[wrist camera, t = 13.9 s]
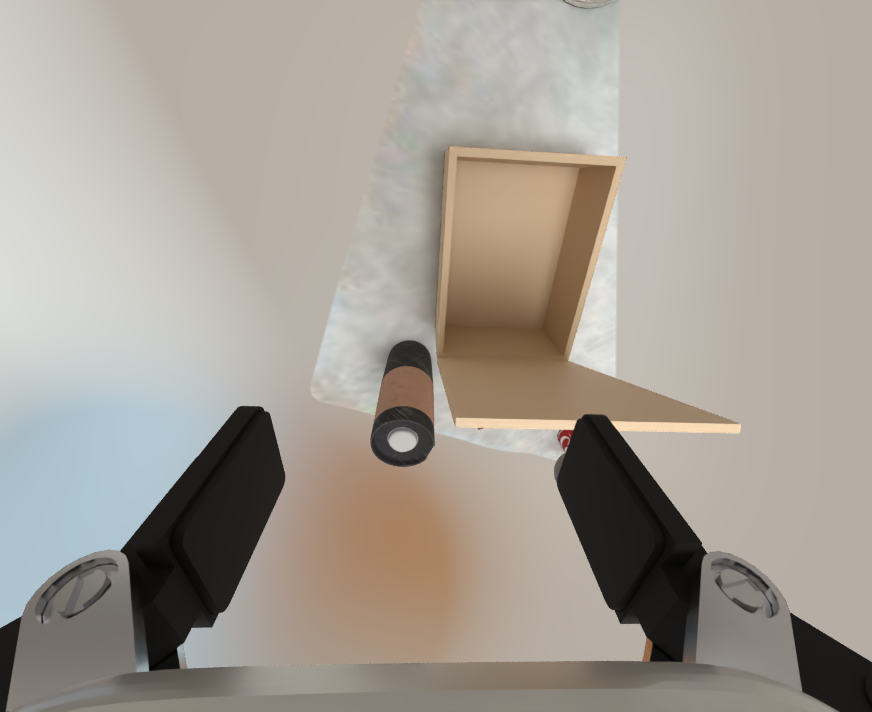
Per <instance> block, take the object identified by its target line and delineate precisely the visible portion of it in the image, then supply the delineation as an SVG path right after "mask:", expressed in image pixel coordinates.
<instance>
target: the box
mask: <svg viewBox="0 0 872 712" xmlns="http://www.w3.org/2000/svg"><path fill="white" fill-rule="evenodd" d="M626 159H627V158H626V157H613V156H598V155H582V154H566V153H550V152H534V151H518V150H502V149H487V148H471V147H455V146H449V148H448V149H447V150H446V151H445V156H444V174H443V193H442V211H441V230H440V248H439V266H438V285H437V303H436V322H435V333H436V350H437V357H447V358H479V359H511V360H543V361H568V359H569V356H570V353H571V349H572V346H573V342H574V339H575V335H576V332H577V328H578V325H579V321H580V318H581V314H582V311H583V307H584V304H585V301H586V297H587V294H588V290H589V287H590V283H591V280H592V276H593V273H594V269H595V266H596V262H597V259H598V256H599V252H600V249H601V245H602V242H603V238H604V235H605V231H606V228H607V224H608V221H609V217H610V214H611V210H612V207H613V204H614V200H615V197H616V193H617V190H618V186H619V183H620V179H621V176H622V172H623V169H624V165H625V162H626Z"/></svg>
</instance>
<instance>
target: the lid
mask: <svg viewBox="0 0 872 712" xmlns="http://www.w3.org/2000/svg"><path fill="white" fill-rule="evenodd" d="M437 363H438V367H439V371H440V374H441V378H442V381H443V385H444V389H445V392H446V396H447V399H448V403H449V406H450V410H451V414H452V417H453V421H454V424H455V427H463V428H511V429H559V430H574V427H575V424H576V421H577V420H578V419H581V418H582V416H583V415H584V414H603V415H606V416H607V417H608V418H609V420H610V421H611V422H612V424H613V425H614V426H615V428H616V429H617V430H618V431H655V432H657V431H658V432H704V433H706V432H707V433H708V432H709V433H740V430H741V424H740V423H737V422H734V421H731V420H729V419H726V418H723V417H720V416H718V415H715V414H712V413H709V412H707V411H704V410H701V409H698V408H696V407H693V406H690V405H687V404H685V403H682V402H679V401H677V400H674V399H671V398H668V397H666V396H663V395H660V394H657V393H655V392H652V391H649V390H646V389H644V388H641V387H638V386H635V385H633V384H630V383H627V382H624V381H622V380H619V379H616V378H614V377H611V376H608V375H605V374H603V373H600V372H597V371H594V370H592V369H589V368H586V367H583V366H581V365H578V364H575V363H572V362H570V361H543V360H511V359H479V358H447V357H437ZM565 454H566V453H564V454H563V455H561V456H560V457H559V458H558V460H557V462H556V464H555V467H554V476H555V480H556V482H557V477H558V474H559V471H560V468H561V465H562V462H563V459H564V456H565Z"/></svg>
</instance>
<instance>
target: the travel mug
mask: <svg viewBox="0 0 872 712" xmlns="http://www.w3.org/2000/svg"><path fill="white" fill-rule="evenodd" d="M433 446H435V441H434V394H433V377H432V365H431V357H430V353H429V351H428V350H427V349H426V347H425V346H423V345H422V344H420V343H418V342H415V341H404V342H401V343H399V344H397V345H396V346H395V347H393V349H392V350H391V352H390V354H389V357H388V361H387V365H386V368H385V372H384V376H383V379H382V383H381V388H380V393H379V398H378V404H377V409H376V414H375V419H374V424H373V430H372V434H371V448H372V451H373V453H374V454H375V455H376V456H377V457H378V458H379V459H380V460H381V461H383V462H385V463H387V464H389V465H393V466H399V467H407V466H413V465H417V464H419V463H421V462H423V461H425V460H426V458H427V456H428V454H429V453H430V451H431V449H432V448H433Z"/></svg>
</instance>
